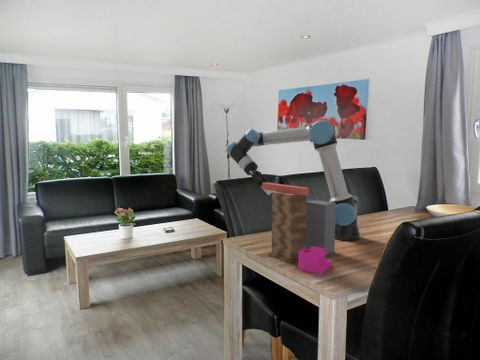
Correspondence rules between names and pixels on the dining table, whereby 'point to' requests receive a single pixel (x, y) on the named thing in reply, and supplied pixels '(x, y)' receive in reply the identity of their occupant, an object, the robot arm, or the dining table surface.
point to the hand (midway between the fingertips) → (274, 194)
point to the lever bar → (285, 188)
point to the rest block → (320, 225)
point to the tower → (288, 225)
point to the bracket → (313, 260)
